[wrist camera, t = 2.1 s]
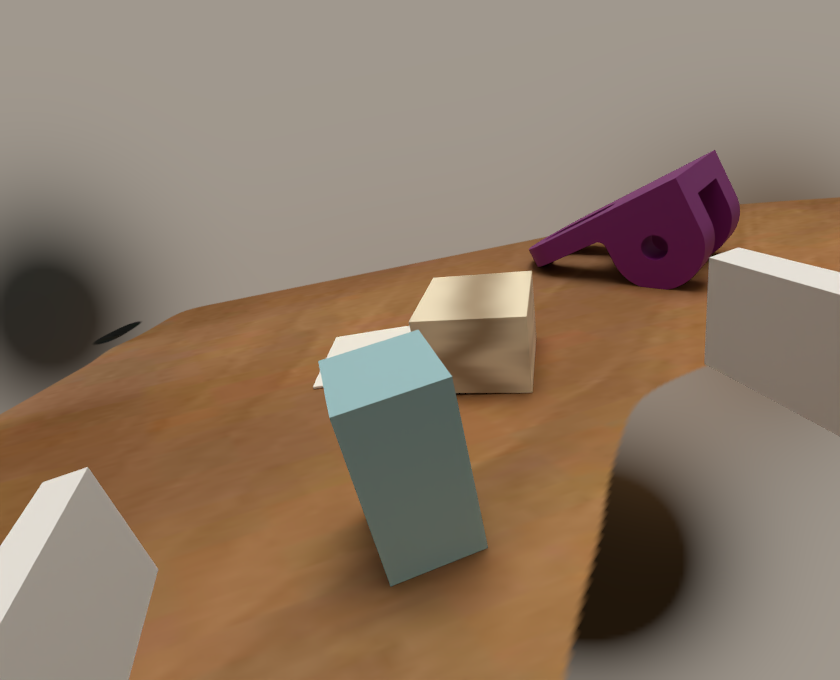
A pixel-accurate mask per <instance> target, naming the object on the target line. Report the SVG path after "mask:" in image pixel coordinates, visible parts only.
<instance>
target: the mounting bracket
mask: <svg viewBox="0 0 840 680" xmlns="http://www.w3.org/2000/svg"><path fill="white" fill-rule="evenodd" d="M739 216H740V206H739V202H738V198H737V196H736V194H735V192H734V189H733V188H732V185H731V183H730V181H729V179H728V177H727V175H726V173H725V170H724V168H723V166H722V164H721V162H720V160H719V158H718V156H717V154H716V151H715V150H714V151H712V152H710V153H708V154H706V155H704V156H702V157H700V158H698V159H696V160H694V161H692V162H690V163H688V164H686V165H684V166H683V167H681V168H679V169H677V170H675V171H673V172H671V173H669V174H667V175H665V176H663V177H661V178H659V179H657V180H655V181H653V182H651V183H649V184H647V185H645V186H643V187H641V188H639V189H637V190H636V191H634V192H632V193H630V194H628V195H626V196H624V197H622V198H620V199H618V200H616V201H614V202H612V203H610V204H608V205H606V206H604V207H602V208H600V209H598V210H596V211H594V212H592V213H590V214H588V215H587V216H585V217H583V218H581V219H579V220H577V221H575V222H573V223H571V224H570V225H568V226H566V227H564V228H562V229H561V230H559V231H557V232H555V233H554V234H552V235H550V236H548V237H547V238H545V239H543V240H542V241H540V242H538V243H537V244H535V245H534V246H532V247H531V248H529V251H530V253H531V255H532V257H533V259H534V260H535V262H536V264H537V266H538V267H540V266H543V265H546V264H549V263H551V262H553V261H556V260H558V259H560V258H562V257H564V256H567V255H569V254H571V253H573V252H576V251H578V250H580V249H582V248H585V247H587V246H589V245H591V244H594V243H596V242H600V243H602V244H604V245H605V247H606V248H607V250H608V252H609V254H610V256H611V258H612V260H613V262H614V264H615V266H616V267H617V269H618V270H619V272H620V273H621V274H622V275H623V276H624V277H625V278H626V279H628V280H629V281H631V282H632V283H634V284H636V285H638V286H640V287H648V288H658V289H667V290H668V289H672V288H676V287H678V286H681V285H682V284H684V283H686V282H687V281H689V280H690V279H691V278H692V277H693V276H694V275H695V274H696V273H697V272H698V271H699V270H700V269H701V268H702V267H703V265H704V264H705V263H706V262H707V260H708V259H709V257H710V255H711V254H713V253H714V252H715V251H717V250H718V249H719V248H720V247H721V246H722V245H723V244H724V243H725V241H726V240H727V239H728V238H729V237H730V236H731V235H732V233H733V232H734V230H735V228H736V226H737V224H738V221H739Z"/></svg>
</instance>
